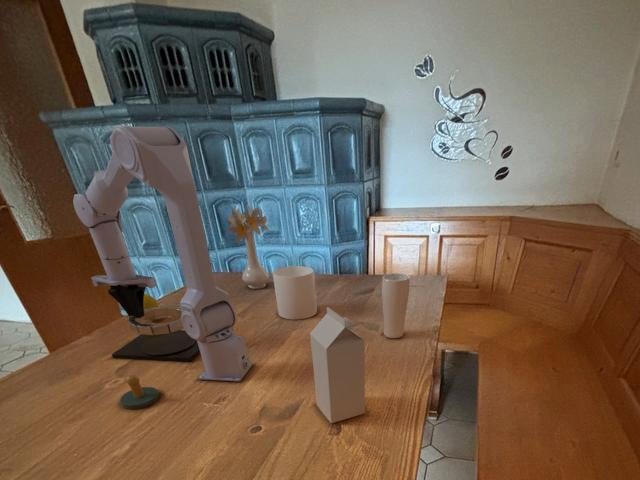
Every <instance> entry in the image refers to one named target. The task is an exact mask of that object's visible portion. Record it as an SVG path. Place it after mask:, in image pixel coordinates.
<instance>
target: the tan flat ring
mask: <svg viewBox="0 0 640 480" xmlns="http://www.w3.org/2000/svg"><path fill="white" fill-rule="evenodd" d="M181 315H182V310H181V306H174V305H173V306H172V305H163V306H158V307H153V308H149V309H145V310H144V316H143V317H141V318H137V317H136V315H135V314H133V315H131V316H130V317H129V316H128V321H127V322H128V324H129V328H130V330H131V331H132V332H133V333H136V334H138V335H141V334H145V335H160V334H168V333H169V332H171V333H172V332H175V331H178V330H184V328H183V325H182V321H181ZM167 316H169V317H179V318H178V319H174V320H171V321H169V322H165V323H164V322H162V323H155V324H148V323H147V324H146V323H142V322H144V321H147V320H149V319H150V318H154V317H156V318H158V317H159V318H160V317H167Z"/></svg>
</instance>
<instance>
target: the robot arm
mask: <svg viewBox="0 0 640 480" xmlns="http://www.w3.org/2000/svg"><path fill="white" fill-rule="evenodd" d="M111 132H112V133H111V135H110V136H109V143H110V147H111V150H112V152H111V153H112V154H111V156H110V158H109V161H108V163H107V167H106V170H95V171H94V172H93V178H92V179H91V182H90V183H89V185H88V187H87V189H86V191H85V193H76V194H74V195H73V200H72V203H73V208H74V211H75V214H76V215H77V217H78V219H79V220H80V222H81V223H82V224H83V225H84V226H86V227H87V228H88V230H89V231H88V232H89V233H90V236H91V238H92V240H93V243H94V245H95V248H96V251H97V254H98V256H99V258H100V261H101V264H102V266H103V269H104V271H105V274H103V275H101V274H100V275H98V274H97V275H94V276H91V278H90V279H91V281H92V284H93V286H94V287H101V286H104V287H106V286H107V287H110V289H107V293H108V294H109V295H110V296H111V297H112V298H113V299H114V300H115V301H116V302H117V303H119V305H120V306H121V307H122V309H123V310H124V311H125V313H126V315H127V316H128V318H129V317H130V316H131V315H133V314H135V315H136V317H137V318H141V317H143V316H144V305H143V301H144V293H145V292H146V288H148V289H154V288H155V287H157V286H158V283H157V281H156V278H155V276H146V275H143V274H142V275H141V274H136V271H135V268H134V265H133V262H132V259H131V256H130V254H129V251H128V248H127V245H126V242H125V238H124V237H123V234H122V233H123V232H124V228H123V225H122V213H121V210H120V209H122V207H123V205H124V204H125V203H126V201H127V200H128V198H129V189H128V187H127V186H128V185H129V184H130V182H132V180H133V179H134V178H137V179H138V180H139V181H141V182H142V183H143V184H145V185H146V186H148V187H149V188H152V189H155V190H156V191H157V192H158V193H159V194H160V195H161V196H162V197H163V199H164V204H165V207H166V211H167V215H168V219H169V223H170V228H171V230H172V234H173V238H174V241H175V247H176V251H177V254H178V258H179V262H180V266H181V271H182V275H183V278H184V282H185V286H186V291H185V292H184V294H183V296H182V298H181V300H180V301H179V305H180V306H179V307H181V310H182V315H181V321H182V325H183V330H185V331H186V333H187V334H188V335H189V336H190V337H192V338H193V339H195V340H197V343H198V346H199V350H200V353H199V354H200V356H201V360H202V363H203V367H204V371H203V372H202V373H201V374H200V375H199V376H198V379H199V380H205V381H223V382H237V383H238V382H241V381H242V380H243V378H244V377H245V376H246V374H247V373H248V372H249V370H250V369H251V368H252V366H253V363H251V360H250V355H249V349H248V345H247V342H246V341H247V340H246V339H245V337H244V336H242V335H240V334H239V335H238V334H236V333H233V332H234V331H235V330H234V326H235V325H236V323H237V319H238V318H237V313H236V310H235V308H234V305H233V303H232V301H231V297H230V294H229V293H228V292H226V291H225V290H223V289H221V288H220V287H218V286H217V284H216V281H215V280H216V279H215V275H214V271H213V265H212V261H211V256H210V252H209V251H210V250H209V246H208V241H207V237H206V233H205V228H204V222H203V218H202V214H201V208H200V204H199V198H198V193H197V189H196V185H195V180H194V174H193V170H192V164H191V159H190V156H189V151H188V145H187V142H186V141H185V140H184V139H183V138H182V137H181V136H180V134H179V133H178V132H177V131H176V130H175V129H174V128H173V127H171V126H170V125H169V126H168V125H163V126H130V125H123V124H117V125H115V126H114V127H113V130H112V131H111ZM145 294H146V293H145Z"/></svg>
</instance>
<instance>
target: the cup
mask: <svg viewBox="0 0 640 480" xmlns="http://www.w3.org/2000/svg"><path fill="white" fill-rule="evenodd" d="M272 280H273V286H274V291H275V299H276V300H275V301H276V306H277V313H278V316H279V317H281V318H283V319H286V320H293V321H294V320H304V319H309V318H312V317H314V316H315V315H316V314H317V313H318V307H317V295H316V294H317V293H316V292H317V291H316V280H315V270H314V269H313V268H311V267H309V266H301V265H291V266H283V267H279V268H277V269H274V270H273V272H272Z"/></svg>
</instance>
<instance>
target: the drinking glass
mask: <svg viewBox="0 0 640 480" xmlns="http://www.w3.org/2000/svg"><path fill="white" fill-rule="evenodd" d="M381 279H382V281H381V304H382V305H381V306H382V320H383V321H382V322H383V335H384V337H386V338H387V339H399V338H401V337H403V335H404V332H405V323H406V316H407V308H408V303H409V296H410V285H411V284H410V275H408V274H407V273H406V274H405V273H399V272H393V273H391V272H390V273H386V274H383V276H382V278H381Z"/></svg>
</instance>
